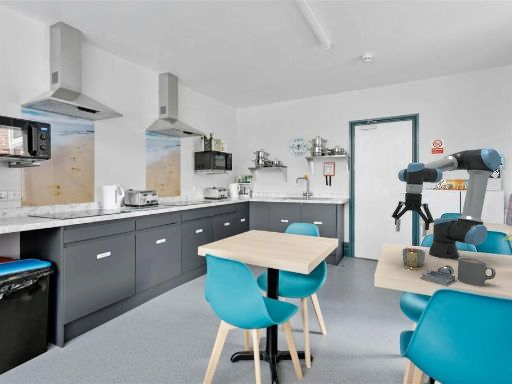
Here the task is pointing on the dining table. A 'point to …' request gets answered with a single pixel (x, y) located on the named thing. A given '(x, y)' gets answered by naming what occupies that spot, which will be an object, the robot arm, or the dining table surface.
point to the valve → (412, 259)
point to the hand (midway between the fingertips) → (410, 233)
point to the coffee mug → (473, 271)
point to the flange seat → (440, 276)
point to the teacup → (420, 256)
